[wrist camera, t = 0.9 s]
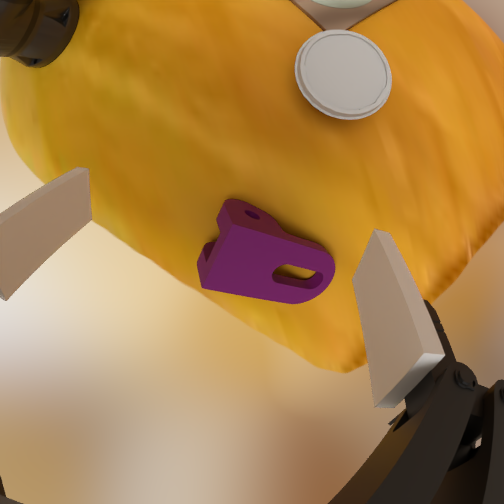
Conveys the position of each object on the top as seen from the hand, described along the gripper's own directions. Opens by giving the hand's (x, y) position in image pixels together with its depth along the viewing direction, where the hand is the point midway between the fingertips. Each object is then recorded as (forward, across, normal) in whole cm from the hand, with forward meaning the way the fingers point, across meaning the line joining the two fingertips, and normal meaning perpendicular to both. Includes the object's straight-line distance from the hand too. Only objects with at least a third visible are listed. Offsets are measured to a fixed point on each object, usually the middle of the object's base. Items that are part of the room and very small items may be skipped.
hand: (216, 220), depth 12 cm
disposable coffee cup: (+29, +6, +8) cm, 31 cm away
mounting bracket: (+26, +4, -17) cm, 31 cm away
